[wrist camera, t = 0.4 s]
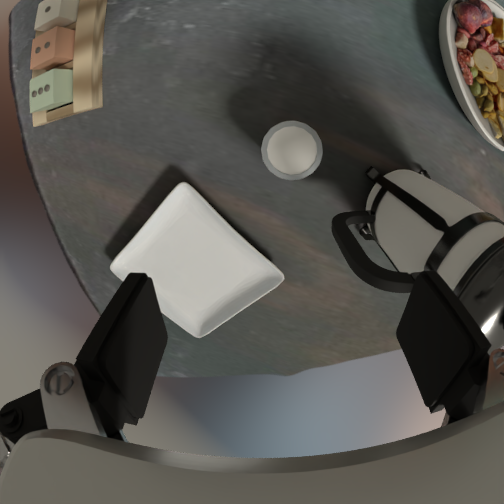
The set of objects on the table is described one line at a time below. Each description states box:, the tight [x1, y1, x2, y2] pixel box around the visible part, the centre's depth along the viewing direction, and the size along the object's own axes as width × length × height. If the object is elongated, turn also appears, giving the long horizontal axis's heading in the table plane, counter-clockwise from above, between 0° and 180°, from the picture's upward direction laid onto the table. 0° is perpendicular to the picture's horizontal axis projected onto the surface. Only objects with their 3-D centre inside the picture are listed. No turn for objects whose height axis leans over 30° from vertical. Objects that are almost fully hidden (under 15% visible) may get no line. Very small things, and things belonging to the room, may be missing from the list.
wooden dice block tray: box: [32, 0, 107, 127], centre depth 25 cm, size 23×13×3 cm, turn 0°
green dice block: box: [30, 69, 73, 113], centre depth 25 cm, size 5×5×5 cm
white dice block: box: [34, 0, 80, 32], centre depth 18 cm, size 5×5×5 cm
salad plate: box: [110, 182, 284, 338], centre depth 43 cm, size 21×21×3 cm
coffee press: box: [332, 166, 504, 355], centre depth 25 cm, size 17×16×30 cm
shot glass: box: [261, 121, 323, 180], centre depth 31 cm, size 7×7×7 cm
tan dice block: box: [30, 26, 75, 70], centre depth 22 cm, size 5×5×5 cm
